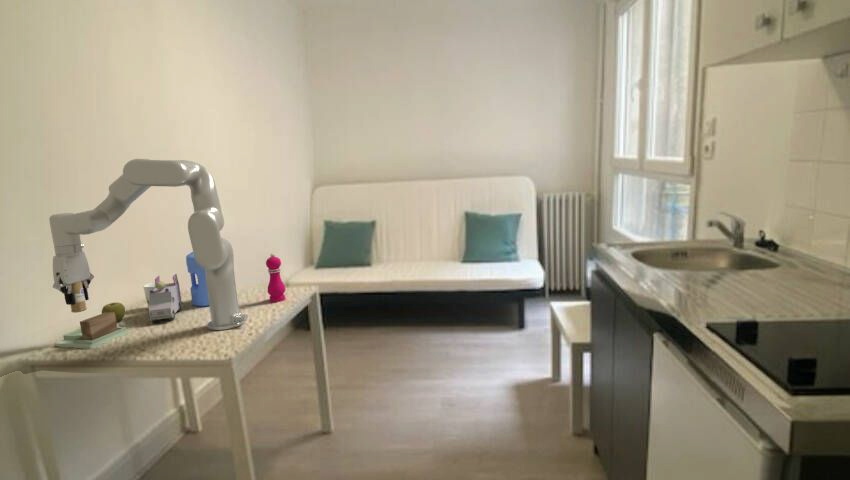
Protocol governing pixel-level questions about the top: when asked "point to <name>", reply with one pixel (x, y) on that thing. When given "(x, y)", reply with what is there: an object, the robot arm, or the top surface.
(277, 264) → the pepper mill
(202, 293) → the water jug
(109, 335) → the jig
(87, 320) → the brown cuboid brick
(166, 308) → the toy vehicle
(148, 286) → the white cup
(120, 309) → the apple
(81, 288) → the sprinkles bottle
